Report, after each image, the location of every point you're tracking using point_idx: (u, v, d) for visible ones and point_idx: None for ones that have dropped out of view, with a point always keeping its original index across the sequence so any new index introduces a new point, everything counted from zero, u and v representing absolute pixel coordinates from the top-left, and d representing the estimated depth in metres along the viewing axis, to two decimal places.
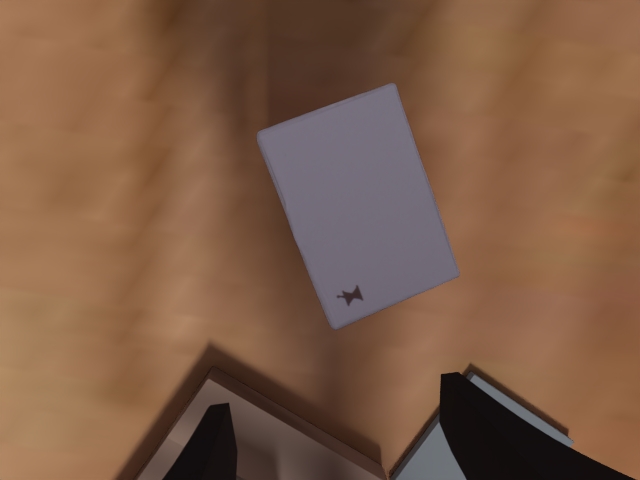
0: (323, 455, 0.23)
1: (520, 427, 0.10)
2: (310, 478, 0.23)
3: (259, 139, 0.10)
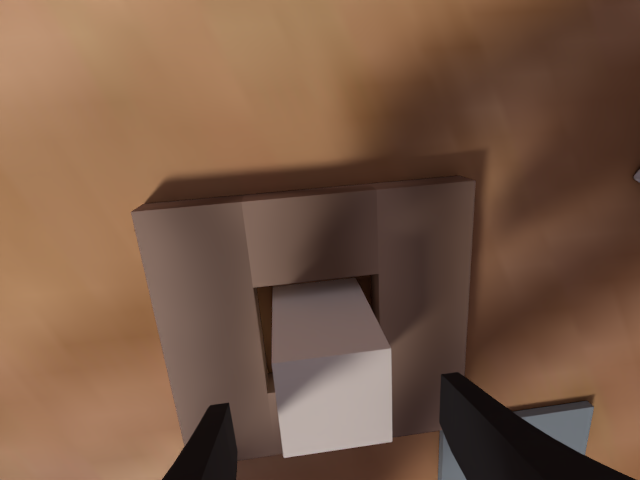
0: (455, 353, 0.19)
1: (520, 427, 0.10)
2: (421, 361, 0.18)
3: None
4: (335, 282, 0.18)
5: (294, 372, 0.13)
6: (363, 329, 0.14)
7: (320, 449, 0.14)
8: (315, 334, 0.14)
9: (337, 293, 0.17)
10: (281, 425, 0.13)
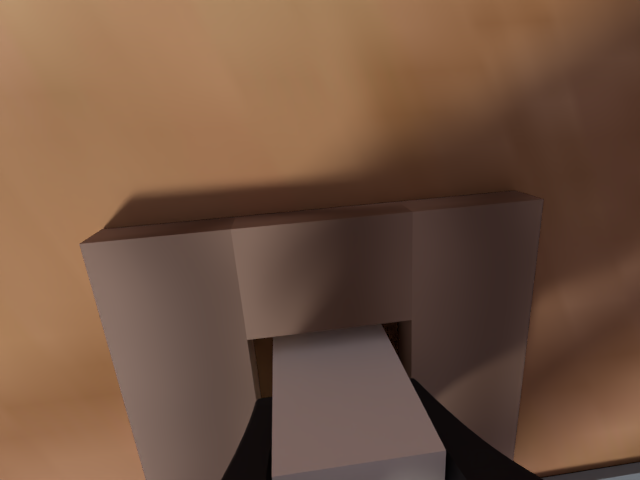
0: (505, 415, 0.15)
1: (462, 436, 0.10)
2: None
3: None
4: (353, 327, 0.14)
5: None
6: (400, 411, 0.10)
7: None
8: (333, 419, 0.10)
9: (358, 345, 0.13)
10: None
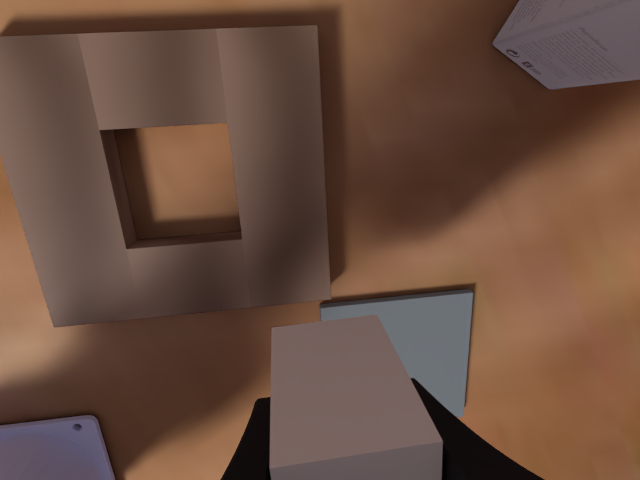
0: (316, 216, 0.19)
1: (463, 435, 0.10)
2: (282, 223, 0.19)
3: None
4: (351, 322, 0.14)
5: (303, 479, 0.09)
6: (398, 403, 0.10)
7: None
8: (330, 411, 0.10)
9: (355, 339, 0.13)
10: None
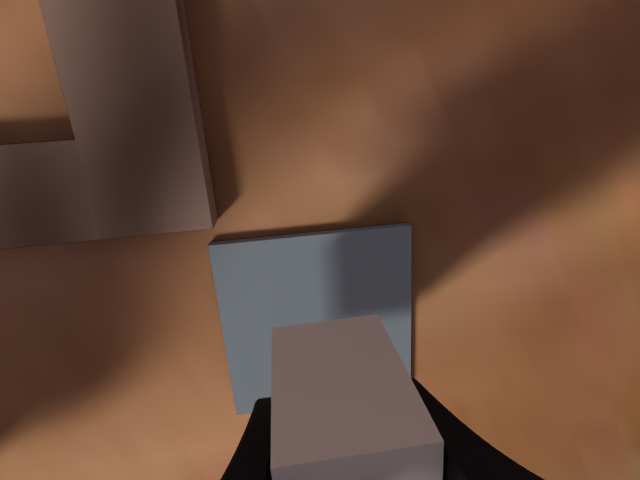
0: (177, 107, 0.14)
1: (463, 435, 0.10)
2: (130, 116, 0.14)
3: None
4: (352, 322, 0.14)
5: (304, 478, 0.09)
6: (399, 403, 0.10)
7: None
8: (331, 411, 0.10)
9: (356, 339, 0.13)
10: None
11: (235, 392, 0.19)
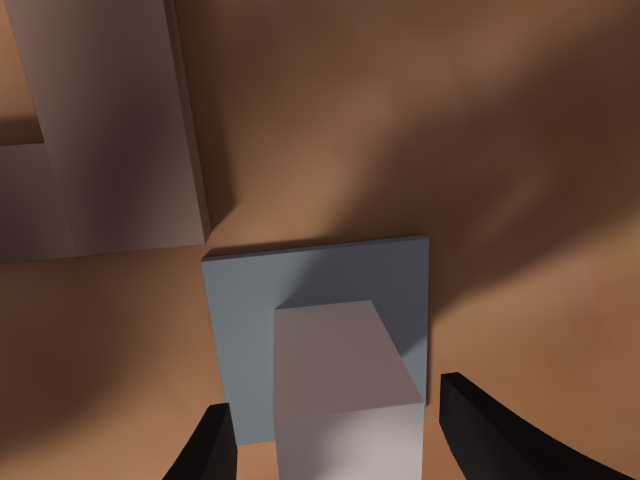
0: (163, 105, 0.12)
1: (520, 427, 0.10)
2: (108, 116, 0.12)
3: None
4: (347, 306, 0.15)
5: (302, 432, 0.10)
6: (387, 372, 0.11)
7: None
8: (327, 378, 0.11)
9: (351, 320, 0.14)
10: None
11: None
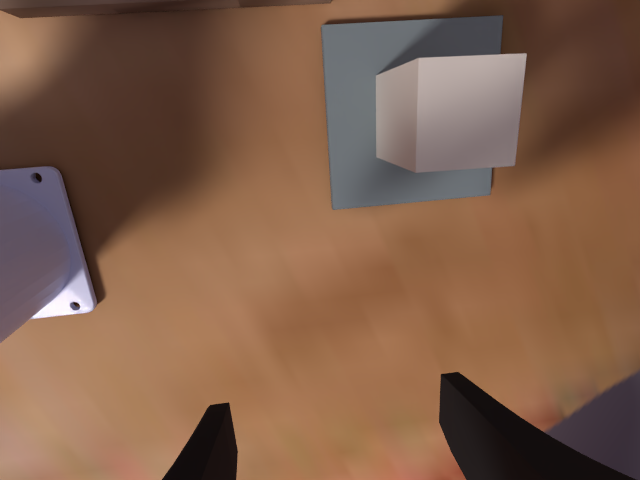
0: None
1: (520, 427, 0.10)
2: None
3: None
4: None
5: (437, 71, 0.14)
6: None
7: (449, 166, 0.15)
8: None
9: None
10: (418, 132, 0.14)
11: (333, 185, 0.20)
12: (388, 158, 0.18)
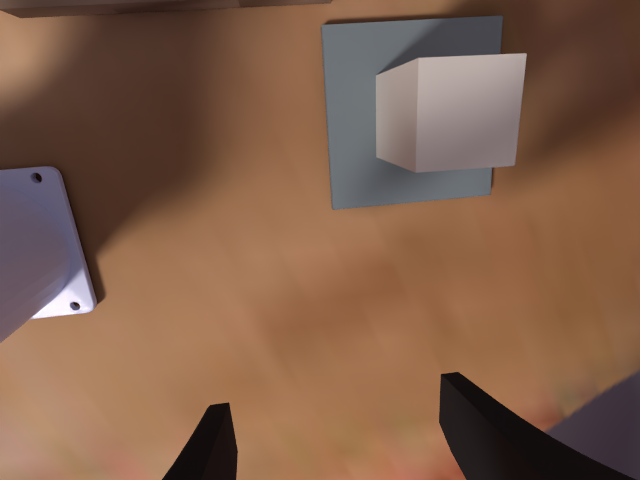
0: None
1: (520, 427, 0.10)
2: None
3: None
4: None
5: (437, 71, 0.14)
6: None
7: (449, 166, 0.15)
8: None
9: None
10: (418, 132, 0.14)
11: (333, 185, 0.20)
12: (388, 158, 0.18)
